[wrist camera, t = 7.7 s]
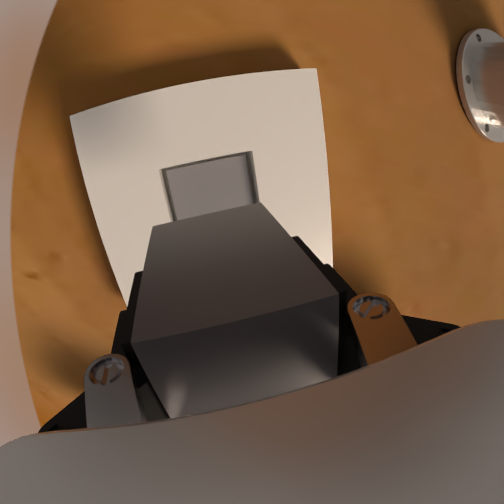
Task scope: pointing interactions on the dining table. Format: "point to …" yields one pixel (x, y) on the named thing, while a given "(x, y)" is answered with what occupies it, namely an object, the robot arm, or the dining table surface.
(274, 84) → the socket
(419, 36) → the dining table surface
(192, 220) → the plug
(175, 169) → the shutter
